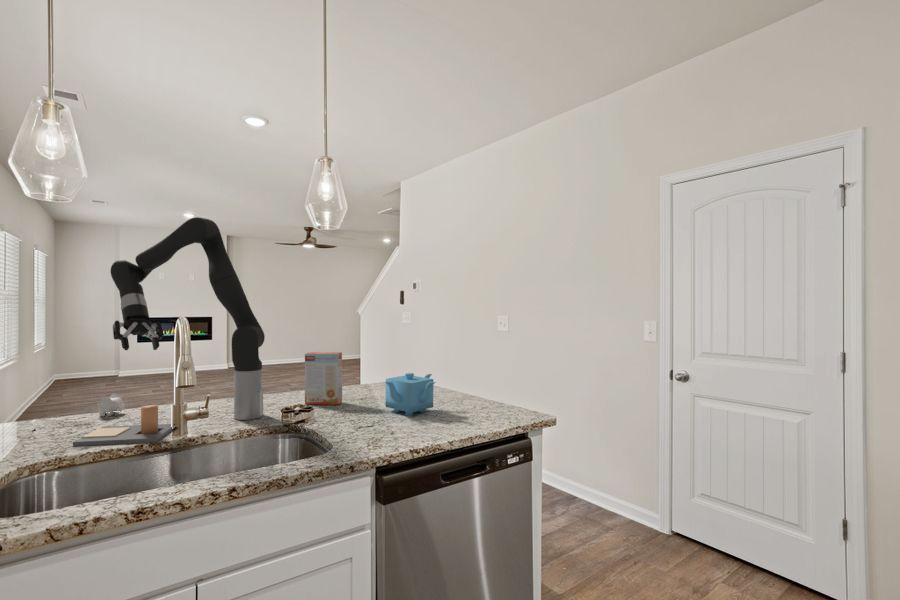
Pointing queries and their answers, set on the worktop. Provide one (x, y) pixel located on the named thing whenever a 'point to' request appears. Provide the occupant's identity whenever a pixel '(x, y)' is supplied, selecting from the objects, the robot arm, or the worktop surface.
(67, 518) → the worktop surface
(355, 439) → the worktop surface
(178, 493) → the worktop surface
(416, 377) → the teakettle
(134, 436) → the pocket plate
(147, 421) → the peg
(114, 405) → the elephant figurine
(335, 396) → the cracker box
